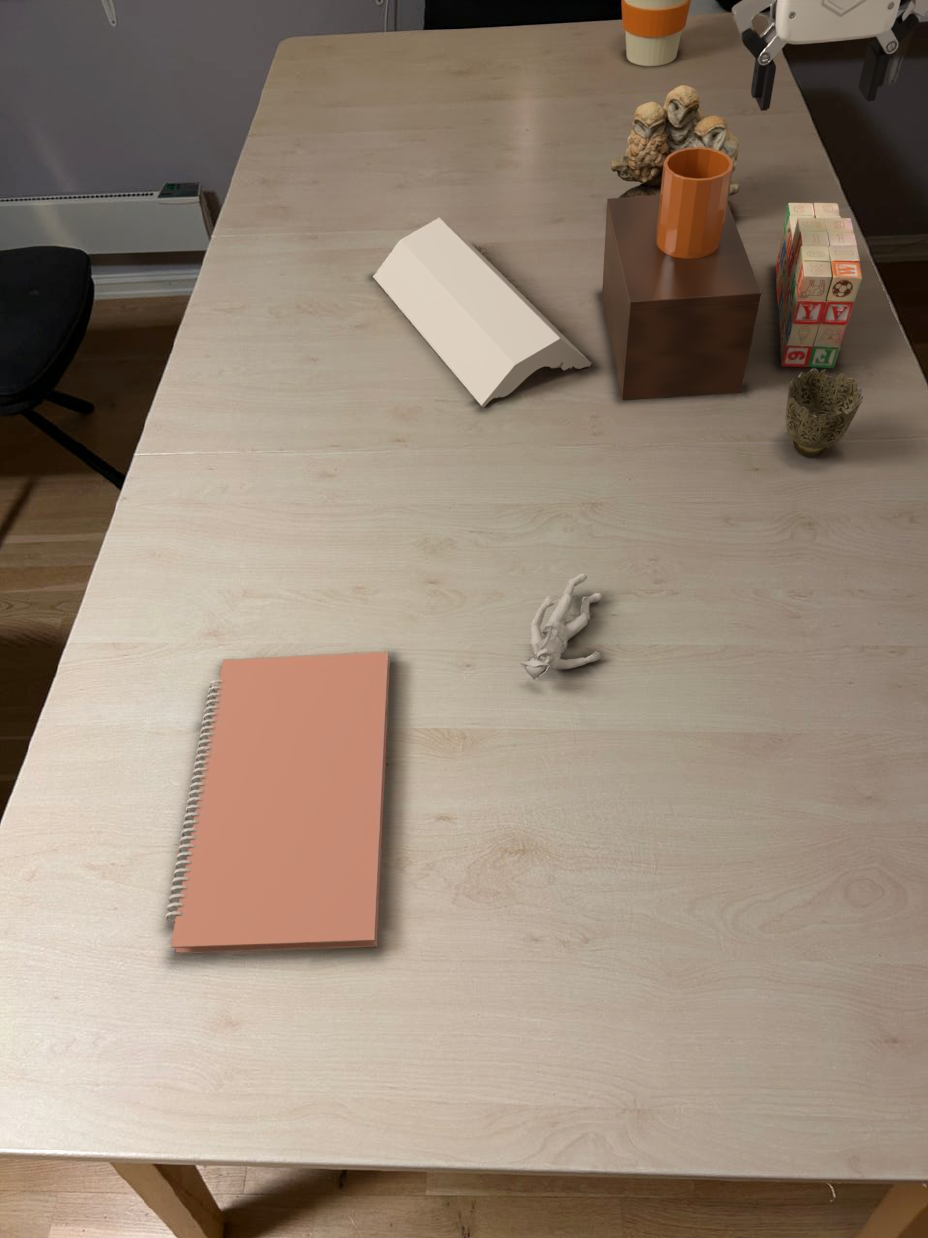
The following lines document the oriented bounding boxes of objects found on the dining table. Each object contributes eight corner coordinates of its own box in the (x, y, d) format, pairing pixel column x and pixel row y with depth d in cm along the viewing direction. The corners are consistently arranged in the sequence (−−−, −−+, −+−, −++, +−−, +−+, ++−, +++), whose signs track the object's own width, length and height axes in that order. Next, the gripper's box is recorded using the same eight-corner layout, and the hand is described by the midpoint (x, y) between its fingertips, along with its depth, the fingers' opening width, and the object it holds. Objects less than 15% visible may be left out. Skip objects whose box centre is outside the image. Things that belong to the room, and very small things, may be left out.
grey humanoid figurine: (621, 618, 92) (592, 689, 82) (582, 638, 95) (550, 708, 85) (574, 557, 90) (539, 623, 81) (536, 579, 93) (498, 645, 83)
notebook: (216, 670, 90) (211, 658, 88) (390, 661, 89) (387, 649, 88) (163, 955, 73) (155, 946, 71) (377, 947, 72) (373, 938, 71)
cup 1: (714, 223, 109) (725, 144, 102) (725, 256, 104) (739, 177, 97) (651, 227, 109) (659, 149, 102) (661, 261, 105) (669, 182, 98)
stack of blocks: (773, 268, 125) (793, 177, 116) (822, 269, 124) (846, 178, 115) (781, 367, 112) (803, 274, 103) (835, 369, 111) (863, 276, 102)
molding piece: (420, 309, 137) (373, 276, 130) (471, 243, 133) (425, 205, 126) (529, 435, 118) (481, 405, 111) (591, 363, 115) (546, 327, 107)
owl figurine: (603, 231, 134) (609, 107, 120) (613, 190, 141) (621, 68, 127) (731, 239, 130) (753, 111, 117) (736, 196, 137) (757, 71, 124)
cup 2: (852, 438, 104) (872, 379, 98) (832, 479, 100) (851, 421, 94) (786, 418, 107) (802, 360, 100) (764, 458, 103) (779, 400, 97)
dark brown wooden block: (707, 287, 124) (723, 189, 113) (741, 392, 110) (761, 292, 100) (601, 294, 124) (607, 198, 114) (622, 400, 111) (630, 301, 100)
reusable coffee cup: (649, 35, 175) (657, -60, 163) (701, 53, 168) (713, -45, 157) (602, 57, 170) (606, -40, 158) (653, 76, 164) (662, -23, 152)
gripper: (757, -100, 73) (727, 126, 86) (986, -124, 72) (920, 109, 85) (739, -128, 78) (714, 90, 91) (954, -151, 76) (896, 74, 90)
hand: (813, 99), depth 88 cm, fingers open, 9 cm apart
